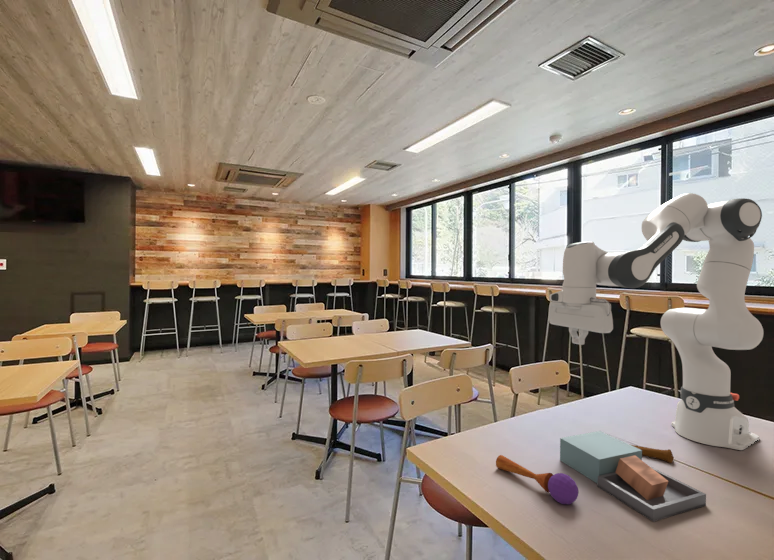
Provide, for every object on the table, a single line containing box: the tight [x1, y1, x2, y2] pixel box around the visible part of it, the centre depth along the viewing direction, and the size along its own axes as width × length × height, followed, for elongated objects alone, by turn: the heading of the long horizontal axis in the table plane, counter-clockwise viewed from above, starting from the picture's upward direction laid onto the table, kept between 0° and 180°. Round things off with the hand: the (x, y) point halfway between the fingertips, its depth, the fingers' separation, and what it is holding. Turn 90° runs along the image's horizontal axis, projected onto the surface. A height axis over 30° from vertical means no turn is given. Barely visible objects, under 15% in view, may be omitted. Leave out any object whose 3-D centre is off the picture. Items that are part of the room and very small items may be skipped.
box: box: [597, 466, 707, 522], centre depth 84 cm, size 16×13×2 cm
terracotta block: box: [615, 455, 668, 500], centre depth 85 cm, size 5×4×8 cm
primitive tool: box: [628, 443, 674, 464], centre depth 105 cm, size 19×6×4 cm, turn 53°
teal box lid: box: [559, 430, 643, 485], centre depth 96 cm, size 14×12×6 cm
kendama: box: [495, 454, 579, 505], centre depth 88 cm, size 6×6×20 cm
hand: (578, 343), depth 110 cm, fingers closed
